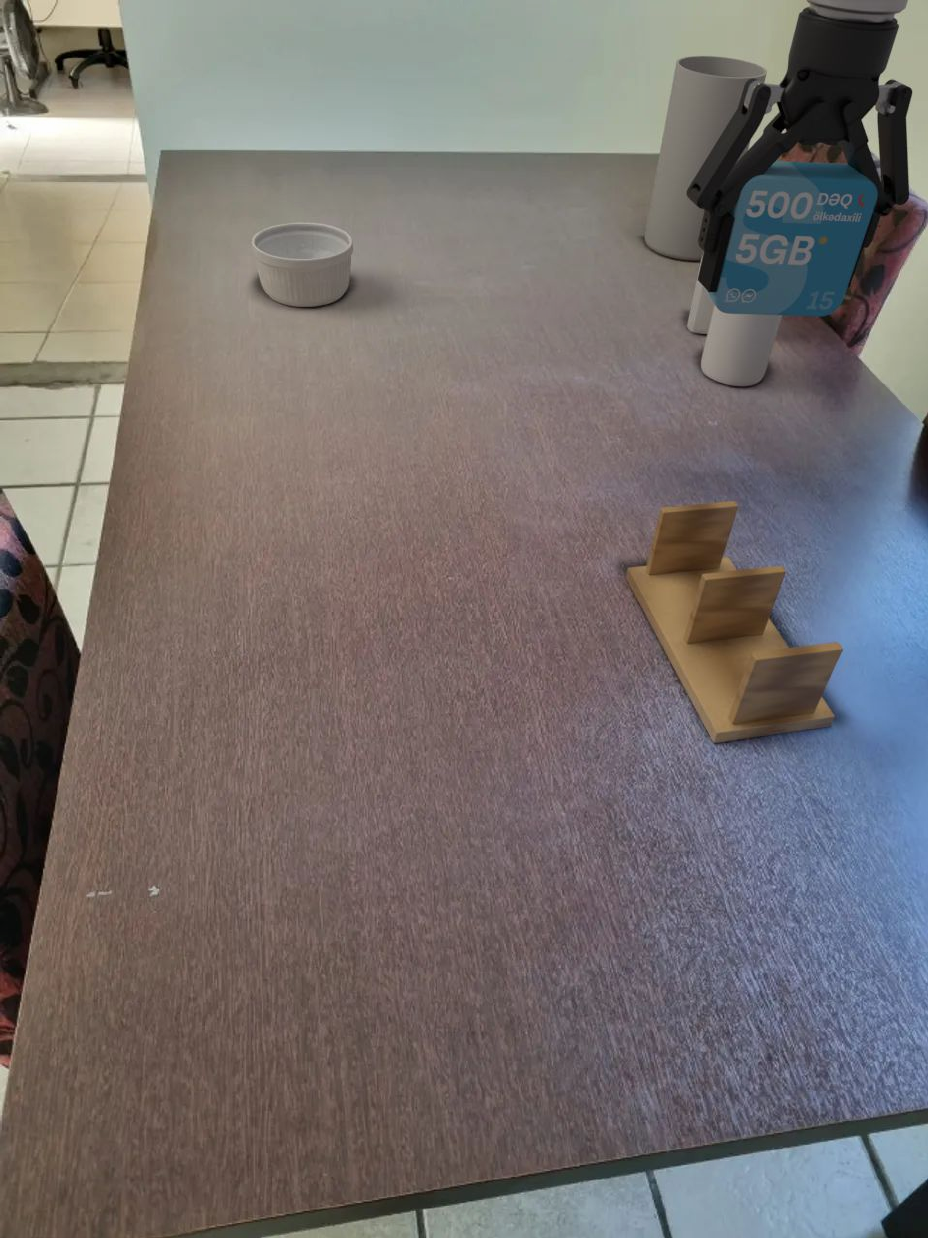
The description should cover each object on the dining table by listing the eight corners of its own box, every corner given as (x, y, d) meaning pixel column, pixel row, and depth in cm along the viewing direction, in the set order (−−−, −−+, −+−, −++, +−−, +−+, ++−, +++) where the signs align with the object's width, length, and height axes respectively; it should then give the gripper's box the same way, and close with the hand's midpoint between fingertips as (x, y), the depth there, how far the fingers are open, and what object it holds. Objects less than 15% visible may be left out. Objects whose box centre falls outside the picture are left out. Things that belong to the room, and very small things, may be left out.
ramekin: (238, 300, 125) (232, 248, 120) (283, 265, 134) (279, 215, 129) (329, 319, 122) (327, 266, 117) (369, 281, 131) (368, 231, 127)
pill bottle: (771, 369, 118) (807, 250, 108) (752, 395, 113) (787, 272, 103) (711, 351, 121) (741, 233, 111) (690, 375, 116) (719, 254, 106)
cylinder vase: (725, 266, 142) (770, 81, 126) (642, 257, 144) (676, 72, 127) (721, 236, 152) (763, 60, 135) (644, 227, 153) (676, 52, 136)
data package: (711, 313, 86) (744, 174, 78) (699, 293, 89) (730, 157, 81) (838, 317, 86) (884, 180, 78) (822, 297, 90) (864, 163, 82)
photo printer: (687, 335, 124) (708, 241, 116) (684, 320, 128) (705, 228, 119) (765, 342, 124) (792, 248, 116) (760, 327, 127) (786, 235, 119)
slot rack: (725, 567, 88) (747, 495, 83) (830, 726, 74) (866, 652, 68) (625, 577, 86) (641, 504, 81) (713, 743, 72) (740, 668, 66)
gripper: (964, 4, 77) (873, 263, 91) (682, -4, 72) (633, 270, 87) (1021, 24, 71) (915, 296, 86) (721, 17, 67) (662, 305, 81)
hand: (773, 283), depth 86 cm, fingers closed on data package, 12 cm apart
